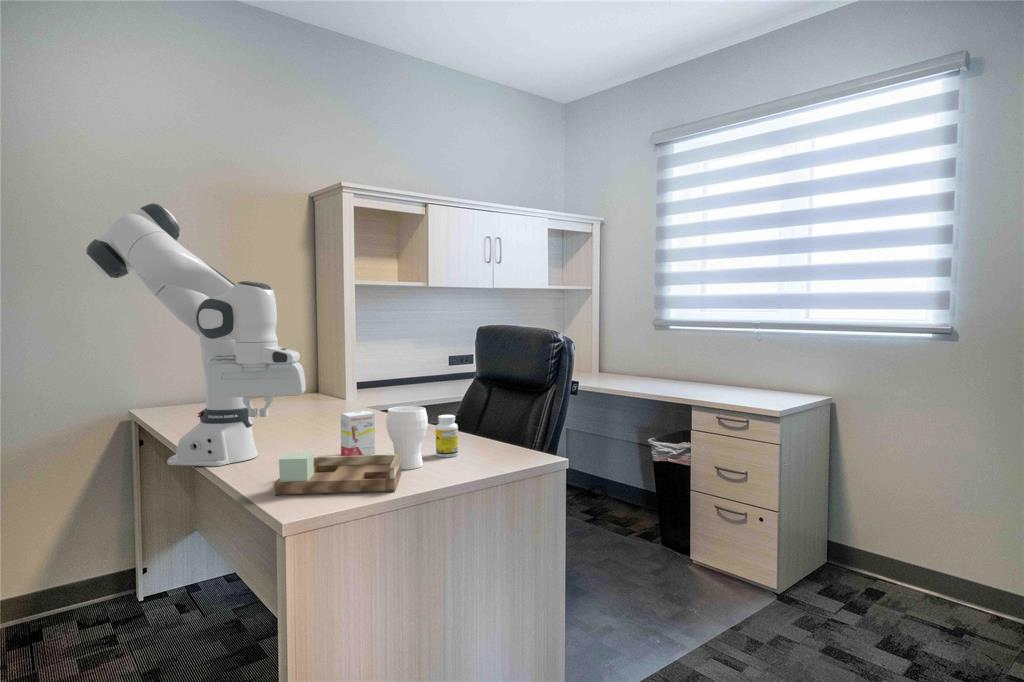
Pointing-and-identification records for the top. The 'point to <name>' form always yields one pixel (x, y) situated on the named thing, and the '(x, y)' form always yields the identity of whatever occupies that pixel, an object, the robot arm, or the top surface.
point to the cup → (407, 433)
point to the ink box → (358, 433)
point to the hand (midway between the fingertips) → (258, 416)
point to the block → (296, 467)
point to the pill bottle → (446, 436)
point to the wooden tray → (347, 476)
